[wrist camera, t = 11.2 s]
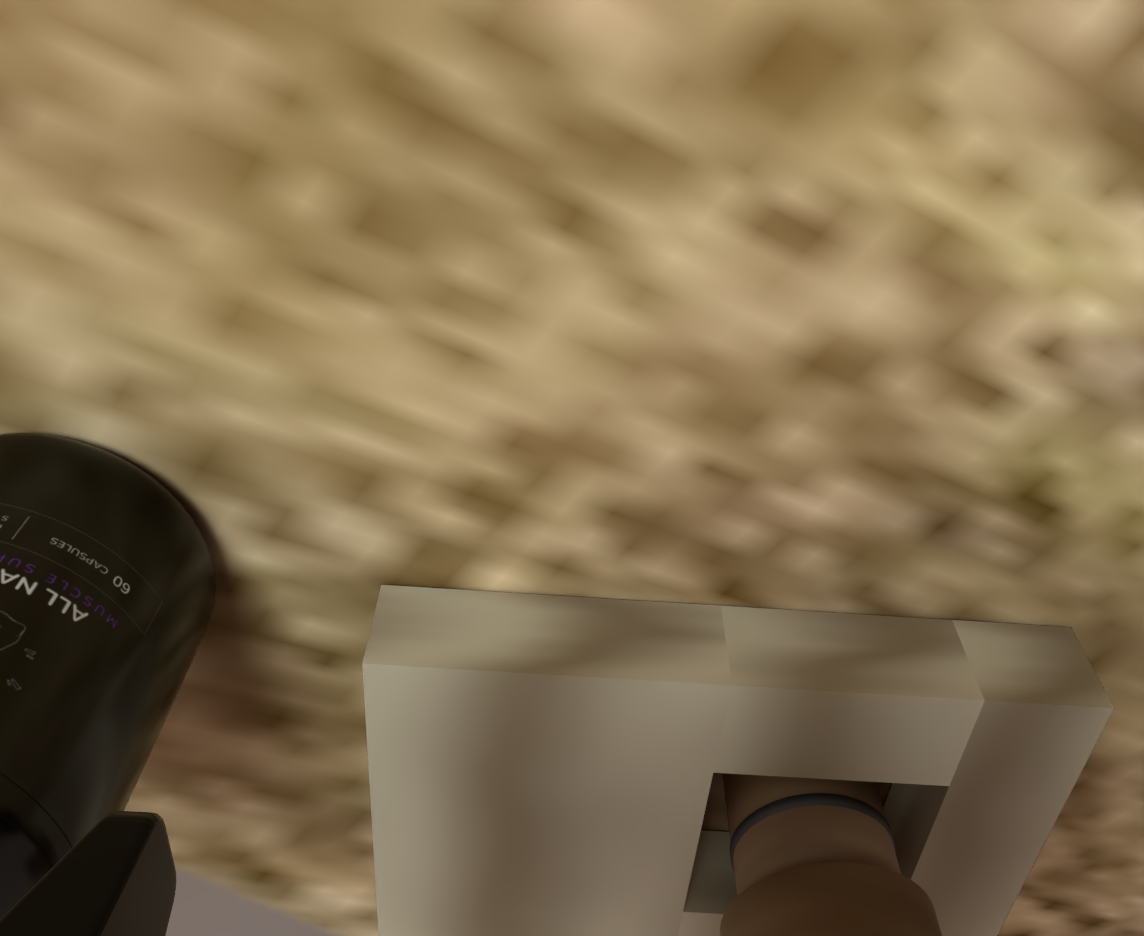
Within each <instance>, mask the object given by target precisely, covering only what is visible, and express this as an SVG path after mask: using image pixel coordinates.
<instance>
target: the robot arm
mask: <svg viewBox="0 0 1144 936" xmlns="http://www.w3.org/2000/svg"><path fill="white" fill-rule="evenodd" d="M175 890H176V871H175V866H174V862H173V857H172V853H171V849H170V844H169V840H168V836H167V832H166V827H165V824H164V821H163V819H162V818H161V817H160V816H159V815H158V814H156V813H147V812H129V811H116V812H112V813H110V814H108V815H106V816H105V817H103V818H102V819H101V820H100V821H99V822H98V823H97V824H96V825H95V826H94V827H93V828H92V829H91V830H90V831H89V832H88V833H87V834H86V835H85V836H84V837H83V838H82V839H81V840H80V841H79V842H78V843H77V844H76V845H75V846H74V847H73V848H72V849H71V850H69V851H68V852H67V853H66V854H65V855H64V856H63V857H62V858H61V859H60V860H59V861H58V862H57V863H56V864H55V865H54V866H53V867H52V868H51V869H50V870H49V871H48V872H47V873H46V874H45V875H44V876H43V877H42V878H41V879H40V880H39V881H38V882H37V883H36V884H35V885H34V886H33V887H32V888H31V889H30V890H29V891H28V892H27V893H26V894H25V895H24V896H23V897H22V898H21V899H20V900H19V901H18V902H17V903H16V904H15V905H14V906H13V907H12V908H11V909H10V910H9V911H8V912H7V913H6V914H5V915H4V916H3V917H2V918H1V919H0V936H165V935H166V930H167V926H168V922H169V918H170V914H171V910H172V906H173V902H174V896H175Z"/></svg>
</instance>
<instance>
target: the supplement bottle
mask: <svg viewBox="0 0 1144 936" xmlns="http://www.w3.org/2000/svg"><path fill="white" fill-rule="evenodd" d="M215 588H216V584H215V572H214V566H213V562H212V558H211V555H210V552H209V549H208V546H207V544H206V542H205V539H204V537H203V535H202V533H201V532H200V530H199V528H198V526H197V525H196V523H195V522H194V520H193V519H192V517H191V516H190V515H189V513H188V512H187V511H186V509H185V508H184V507H183V506H182V505H181V503H180V502H179V501H178V500H177V499H176V498H175V497H174V496H173V495H172V494H171V493H170V492H169V491H168V490H167V489H166V488H165V487H164V486H162V485H161V484H160V483H159V482H158V481H156V480H155V479H154V478H152V477H151V476H150V475H148V474H147V473H146V472H144V471H143V470H141V469H139V468H138V467H136V466H135V465H133V464H132V463H130V462H128V461H126V460H124V459H122V458H120V457H119V456H116V455H114V454H112V453H110V452H108V451H105V450H103V449H100V448H98V447H95V446H92V445H89V444H86V443H83V442H79V441H76V440H72V439H68V438H63V437H58V436H51V435H43V434H30V433H14V434H2V435H0V919H1V918H2V917H3V916H4V915H5V914H6V913H7V912H8V911H9V910H10V909H11V908H12V907H13V906H14V905H15V904H16V903H17V902H18V901H19V900H20V899H21V898H22V897H23V896H24V895H25V894H26V893H27V892H28V891H29V890H30V889H31V888H32V887H33V886H34V885H35V884H36V883H37V882H38V881H39V880H40V879H41V878H42V877H43V876H44V875H45V874H46V873H47V872H48V871H49V870H50V869H51V868H52V867H53V866H54V865H55V864H56V863H57V862H58V861H59V860H60V859H61V858H62V857H63V856H64V855H65V854H66V853H67V852H68V851H69V850H71V849H72V848H73V847H74V846H75V845H76V844H77V843H78V842H79V841H80V840H81V839H82V838H83V837H84V836H85V835H86V834H87V833H88V832H89V831H90V830H91V829H92V828H93V827H94V826H95V825H96V824H97V823H98V822H99V821H100V820H101V819H102V818H103V817H105V816H106V815H108V814H110V813H112V812H116V811H124V810H125V807H126V805H127V803H128V801H129V799H130V796H131V794H132V792H133V790H134V788H135V785H136V783H137V781H138V779H139V777H140V774H141V772H142V770H143V768H144V766H145V763H146V761H147V759H148V757H149V755H150V752H151V750H152V748H153V746H154V744H155V741H156V739H157V737H158V735H159V733H160V730H161V728H162V726H163V724H164V722H165V720H166V717H167V715H168V713H169V711H170V709H171V706H172V704H173V702H174V700H175V698H176V695H177V693H178V691H179V689H180V687H181V684H182V682H183V680H184V678H185V676H186V673H187V671H188V669H189V667H190V665H191V662H192V660H193V658H194V656H195V653H196V651H197V648H198V646H199V644H200V641H201V639H202V637H203V634H204V632H205V630H206V627H207V625H208V622H209V619H210V616H211V613H212V610H213V605H214V601H215Z"/></svg>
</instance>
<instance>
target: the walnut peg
mask: <svg viewBox="0 0 1144 936" xmlns="http://www.w3.org/2000/svg"><path fill="white" fill-rule="evenodd" d="M722 777H723V785H724V793H725V801H726V809H727V817H728V825H729V833H730V857H731V865H732V868H733V871H734V873H735V880H736V888H737V897H736V898H735V899H734V900H733V901H732V902H731V903H730V905H729V906H728V908H727V909H726V911H725V913H724V915H723V917H722V920H721V925H720V936H942V933H941V930H940V927H939V923H938V920H937V916H936V913H935V909H934V906H933V904H932V901H931V899H930V898H929V896H928V895H927V893H926V892H925V891H924V890H923V889H922V888H921V887H920V886H919V885H917V884H916V883H915V882H913V881H912V880H911V879H909V878H907V877H905V876H903V875H902V874H901V872H900V868H899V864H898V861H897V857H896V853H895V842H894V838H893V834H892V830H891V828H890V825H889V823H888V821H887V820H886V816H885V813H884V809H883V805H882V801H881V798H880V794H879V790H878V787H877V783H876V782H868V781H850V780H833V779H815V778H798V777H781V776H763V775H746V774H728V773H722Z"/></svg>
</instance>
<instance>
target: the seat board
mask: <svg viewBox="0 0 1144 936" xmlns="http://www.w3.org/2000/svg"><path fill="white" fill-rule="evenodd" d="M362 667H363V684H364V700H365V717H366V733H367V750H368V767H369V783H370V800H371V816H372V833H373V850H374V866H375V883H376V899H377V916H378V932H379V936H720V925H721V920H722V917H723V915H724V913H725V911H726V909H727V908H728V906H729V905H730V903H731V902H732V901H733V900H734V899H735V898H736V897H737V888H736V880H735V873H734V871H733V868H732V865H731V857H730V833H729V832H723V831H705V830H701V827H702V823H703V818H704V813H705V809H706V804H707V800H708V795H709V791H710V786H711V781H712V777H713V773H728V774H746V775H763V776H781V777H798V778H815V779H833V780H850V781H868V782H885V783H892V786H891V788H890V791H889V794H888V796H887V799H886V802H885V805H884V807H883V809H884V813H885V816H886V820H887V821H888V823H889V825H890V828H891V830H892V834H893V838H894V842H895V853H896V857H897V861H898V864H899V868H900V872H901V874H902V875H903V876H905V877H907V878H909V879H911V880H912V881H913V882H915V883H916V884H917V885H919V886H920V887H921V888H922V889H923V890H924V891H925V892H926V893H927V895H928V896H929V898H930V899H931V901H932V904H933V906H934V909H935V913H936V916H937V920H938V923H939V927H940V930H941V933H942V936H997V935H998V933H999V931H1000V929H1001V927H1002V925H1003V923H1004V921H1005V919H1006V917H1007V915H1008V913H1009V911H1010V910H1011V908H1012V906H1013V904H1014V902H1015V900H1016V898H1017V896H1018V894H1019V892H1020V890H1021V888H1022V886H1023V884H1024V882H1025V880H1026V879H1027V877H1028V875H1029V873H1030V871H1031V869H1032V867H1033V865H1034V863H1035V861H1036V859H1037V857H1038V855H1039V853H1040V851H1041V849H1042V847H1043V846H1044V844H1045V842H1046V840H1047V838H1048V836H1049V834H1050V832H1051V830H1052V828H1053V826H1054V824H1055V822H1056V820H1057V818H1058V816H1059V814H1060V813H1061V811H1062V809H1063V807H1064V805H1065V803H1066V801H1067V799H1068V797H1069V795H1070V793H1071V791H1072V789H1073V787H1074V785H1075V783H1076V782H1077V780H1078V778H1079V776H1080V774H1081V772H1082V770H1083V768H1084V766H1085V764H1086V762H1087V760H1088V758H1089V756H1090V754H1091V752H1092V750H1093V749H1094V747H1095V745H1096V743H1097V741H1098V739H1099V737H1100V735H1101V733H1102V731H1103V729H1104V727H1105V725H1106V723H1107V721H1108V719H1109V718H1110V716H1111V714H1112V712H1113V710H1114V707H1113V705H1112V703H1111V701H1110V699H1109V697H1108V696H1107V694H1106V692H1105V690H1104V688H1103V686H1102V684H1101V682H1100V681H1099V679H1098V677H1097V675H1096V673H1095V671H1094V669H1093V667H1092V666H1091V664H1090V662H1089V660H1088V658H1087V656H1086V654H1085V652H1084V651H1083V649H1082V647H1081V645H1080V643H1079V641H1078V639H1077V637H1076V635H1075V634H1074V632H1073V630H1072V628H1071V627H1059V626H1043V625H1027V624H1011V623H994V622H978V621H962V620H946V619H929V618H913V617H897V616H881V615H865V614H848V613H832V612H816V611H800V610H783V609H767V608H751V607H735V606H718V605H702V604H686V603H670V602H653V601H637V600H621V599H605V598H588V597H572V596H556V595H540V594H523V593H507V592H491V591H475V590H458V589H442V588H426V587H410V586H393V585H381V589H380V593H379V597H378V601H377V605H376V609H375V614H374V618H373V622H372V626H371V630H370V634H369V638H368V642H367V646H366V650H365V654H364V658H363V663H362Z"/></svg>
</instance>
